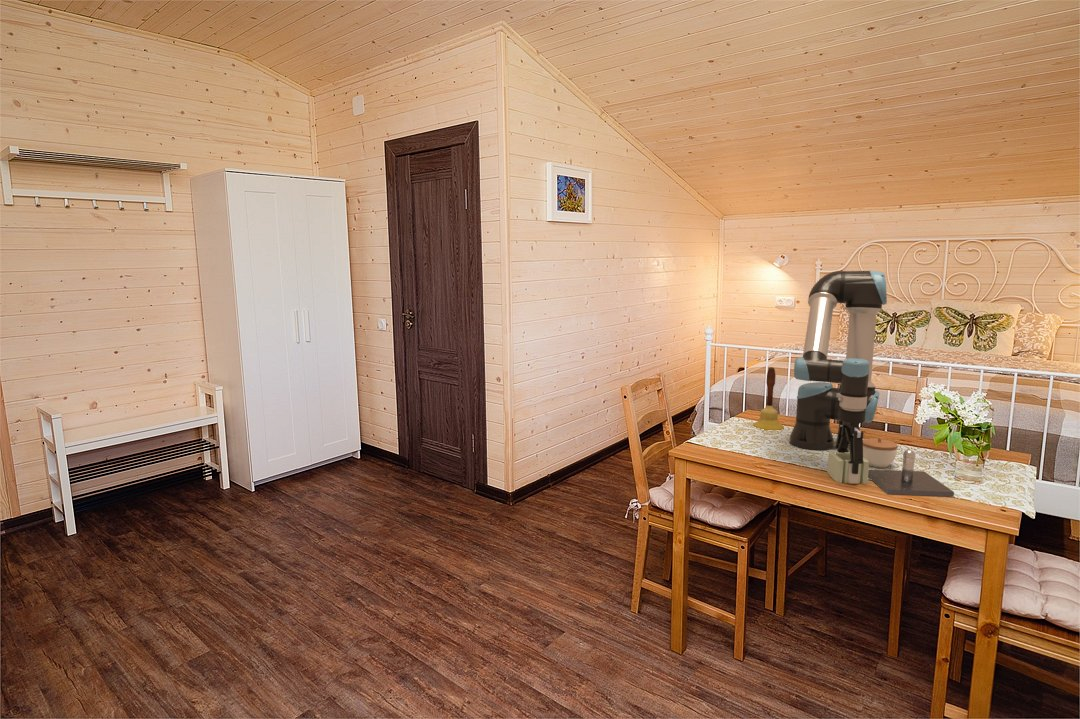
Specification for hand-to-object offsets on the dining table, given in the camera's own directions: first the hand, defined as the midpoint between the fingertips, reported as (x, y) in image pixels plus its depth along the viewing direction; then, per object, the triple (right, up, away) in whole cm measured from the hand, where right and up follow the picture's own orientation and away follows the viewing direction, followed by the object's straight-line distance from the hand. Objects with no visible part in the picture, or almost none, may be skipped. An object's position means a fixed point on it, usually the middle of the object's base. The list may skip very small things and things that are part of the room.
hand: (846, 477), depth 195 cm
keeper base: (+15, -1, -6) cm, 16 cm away
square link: (0, 0, 0) cm, 0 cm away
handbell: (-2, +9, +61) cm, 62 cm away
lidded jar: (+17, +2, +13) cm, 21 cm away
